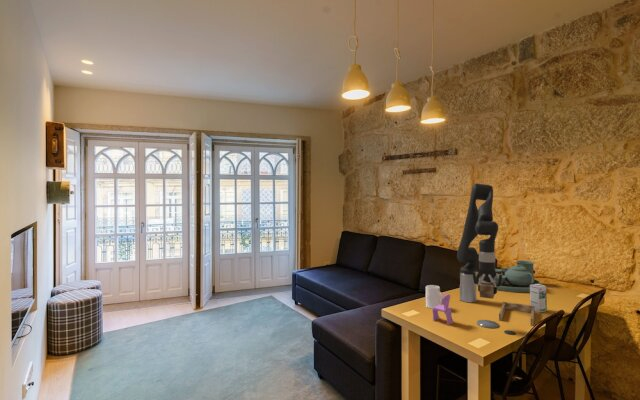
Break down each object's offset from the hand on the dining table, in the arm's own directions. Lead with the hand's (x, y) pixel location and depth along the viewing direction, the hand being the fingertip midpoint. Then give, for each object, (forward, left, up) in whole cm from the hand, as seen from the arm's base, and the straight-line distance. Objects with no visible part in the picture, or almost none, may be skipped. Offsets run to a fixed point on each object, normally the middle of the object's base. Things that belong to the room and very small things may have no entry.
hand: (487, 293), depth 176 cm
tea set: (+3, +89, -17) cm, 91 cm away
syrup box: (+21, +37, -16) cm, 46 cm away
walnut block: (0, -2, -1) cm, 2 cm away
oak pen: (+12, +21, -16) cm, 29 cm away
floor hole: (+10, -6, -16) cm, 20 cm away
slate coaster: (0, 0, -16) cm, 16 cm away
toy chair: (-21, -7, -16) cm, 27 cm away
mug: (-30, +13, -16) cm, 36 cm away
